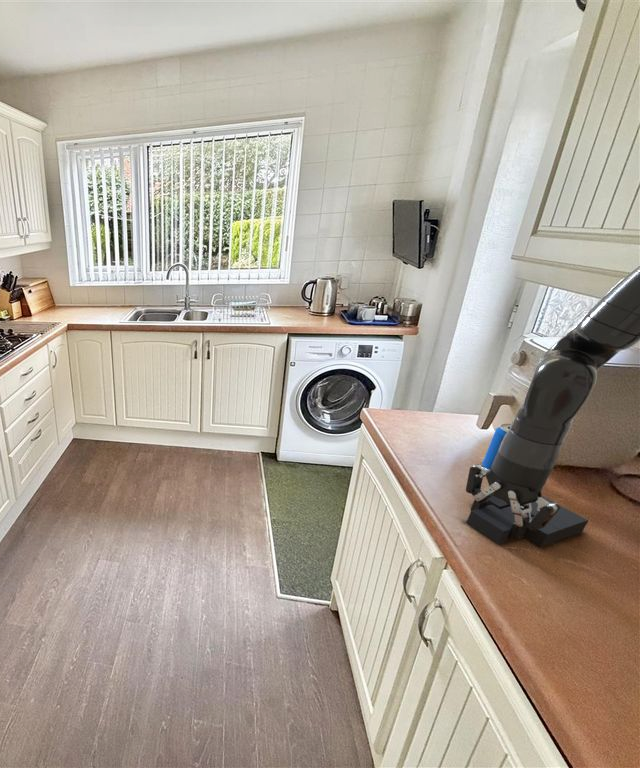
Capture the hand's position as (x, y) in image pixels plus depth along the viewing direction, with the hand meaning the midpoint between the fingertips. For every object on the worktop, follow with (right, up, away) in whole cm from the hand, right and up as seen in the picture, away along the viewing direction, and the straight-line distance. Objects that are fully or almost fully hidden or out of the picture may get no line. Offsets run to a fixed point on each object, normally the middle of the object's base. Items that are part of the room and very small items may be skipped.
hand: (493, 526), depth 80 cm
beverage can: (+17, +7, +18) cm, 25 cm away
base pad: (+9, 0, +3) cm, 10 cm away
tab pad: (+2, -1, +1) cm, 2 cm away
